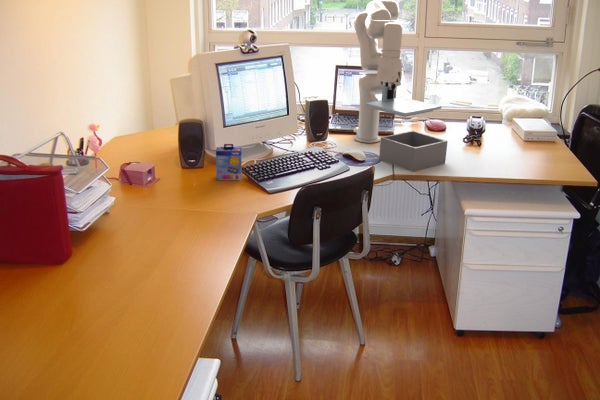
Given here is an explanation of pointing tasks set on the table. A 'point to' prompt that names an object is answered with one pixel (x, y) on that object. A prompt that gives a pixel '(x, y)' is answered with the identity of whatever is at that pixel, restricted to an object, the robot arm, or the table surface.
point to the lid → (401, 105)
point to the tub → (413, 150)
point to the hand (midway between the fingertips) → (388, 98)
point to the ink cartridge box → (228, 163)
